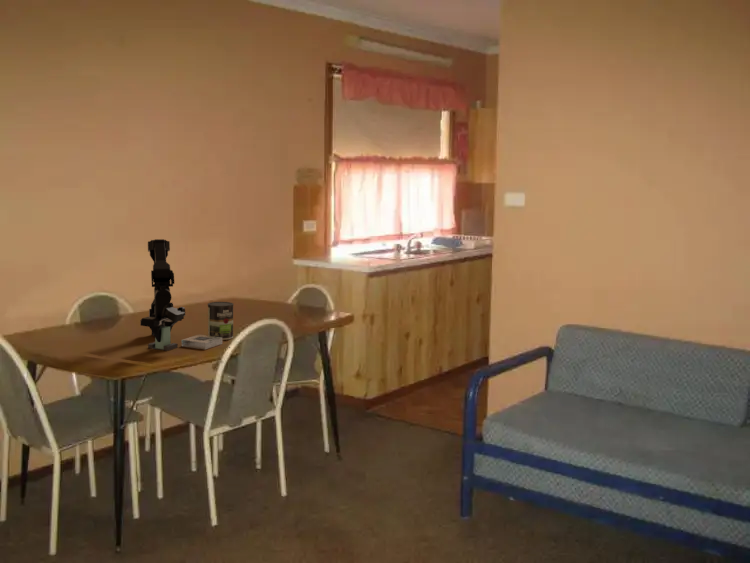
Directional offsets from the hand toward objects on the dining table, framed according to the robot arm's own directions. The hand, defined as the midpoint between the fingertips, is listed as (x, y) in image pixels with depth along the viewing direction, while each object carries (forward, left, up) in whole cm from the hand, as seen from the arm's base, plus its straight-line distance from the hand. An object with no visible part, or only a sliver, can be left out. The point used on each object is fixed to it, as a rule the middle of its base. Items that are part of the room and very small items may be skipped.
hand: (162, 340), depth 309 cm
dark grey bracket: (0, 0, -4) cm, 4 cm away
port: (+10, +11, -4) cm, 15 cm away
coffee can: (+6, +29, -4) cm, 30 cm away
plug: (0, 0, -3) cm, 3 cm away
